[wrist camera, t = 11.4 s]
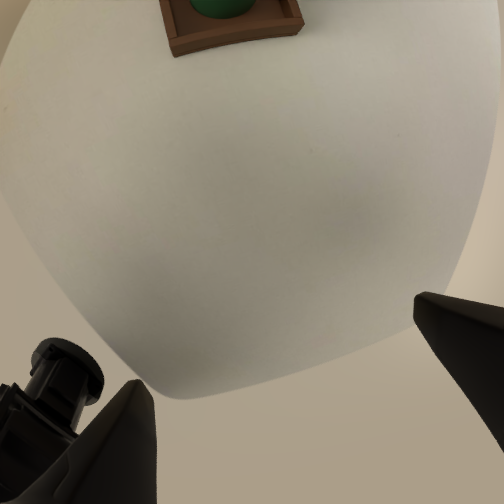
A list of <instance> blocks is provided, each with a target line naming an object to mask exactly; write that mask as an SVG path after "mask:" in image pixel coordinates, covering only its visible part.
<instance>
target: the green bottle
mask: <svg viewBox="0 0 504 504" xmlns="http://www.w3.org/2000/svg"><path fill="white" fill-rule="evenodd" d="M189 1H190V3H191V5H192V7H193V8H194V9H195V10H196V11H197V12H199V13H200V14H202V15H204V16H207V17H210V18H215V19H229V18H234V17H237V16H240V15H242V14H244V13H246V12H247V11H248V10H249V9H250V8H251V7H252V6H253V5H254V3H255V0H189Z"/></svg>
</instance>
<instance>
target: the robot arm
mask: <svg viewBox="0 0 504 504" xmlns="http://www.w3.org/2000/svg"><path fill="white" fill-rule="evenodd" d="M413 319H414V322H415V324H416V325H417V327H418V328H419V330H420V331H421V333H422V334H423V336H424V338H425V339H426V341H427V342H428V344H429V345H430V347H431V349H432V350H433V352H434V353H435V355H436V356H437V358H438V359H439V360H440V362H441V363H442V364H443V366H444V367H445V368H446V369H447V371H448V372H449V373H450V375H451V376H452V377H453V378H454V380H455V381H456V383H457V384H458V385H459V387H460V388H461V389H462V391H463V392H464V394H465V395H466V397H467V398H468V399H469V401H470V402H471V404H472V405H473V406H474V408H475V409H476V411H477V412H478V414H479V415H480V417H481V418H482V419H483V421H484V422H485V424H486V425H487V427H488V429H489V430H490V432H491V433H492V435H493V436H494V438H495V439H496V440H497V442H498V444H499V446H500V448H501V449H502V451H503V452H504V308H503V307H498V306H494V305H489V304H483V303H479V302H474V301H469V300H464V299H459V298H455V297H450V296H445V295H441V294H436V293H431V292H422V293H420V294H418V295H416V296H415V298H414V310H413ZM51 348H52V349H51ZM30 375H31V376H32V378H31V380H30V381H29V383H28V385H27V387H26V388H25V390H24V391H22V390H21V389H20V388H19V386H18V385H17V384H16V383H15V382H14V383H13V384H12V386H11V387H10V386H9V385H5V384H1V386H0V504H157V492H156V491H157V484H156V469H157V465H156V464H157V438H156V425H155V411H154V400H153V397H152V395H151V394H150V392H149V391H148V390H147V388H146V386H145V385H144V383H143V382H142V381H141V380H140V379H136V380H130V381H128V382H127V383H126V384H125V385H124V386H123V387H122V388H121V389H120V390H119V391H118V393H117V394H116V395H115V396H114V397H113V398H112V399H111V400H110V402H109V403H108V404H107V405H106V406H105V407H104V408H103V409H102V410H101V412H100V413H99V414H98V415H97V416H96V417H95V418H94V419H93V420H92V421H91V423H90V424H89V425H88V426H87V427H86V428H85V429H84V430H83V432H82V433H81V434H80V435H78V434H77V433H75V431H76V428H77V425H78V422H79V419H80V416H81V413H82V411H83V408H84V405H85V404H86V403H87V402H88V401H89V400H90V399H92V398H93V397H94V396H95V395H96V394H97V393H98V392H99V391H100V390H102V388H103V383H102V382H101V381H100V380H98V379H97V378H95V377H94V376H93V375H91V374H90V373H89V372H87V371H86V370H85V369H83V368H82V367H81V366H80V365H78V364H77V363H76V362H75V361H73V360H72V359H71V358H70V357H68V356H67V355H66V354H65V353H64V352H62V351H61V350H60V349H59V348H58V347H57V346H55V345H54V344H53V343H49V344H48V346H47V347H46V348H45V350H44V351H43V353H42V354H41V356H40V357H39V359H38V360H37V362H36V363H35V365H34V366H33V368H32V370H31V371H30Z"/></svg>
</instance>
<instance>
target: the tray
mask: <svg viewBox="0 0 504 504" xmlns="http://www.w3.org/2000/svg"><path fill="white" fill-rule="evenodd" d="M159 2H160V7H161V11H162V16H163V20H164V24H165V29H166V33H167V37H168V41H169V46H170V49H171V51H172V54H173V57H178V56H181V55H185V54H189V53H192V52H196V51H200V50H205V49H209V48H213V47H218V46H223V45H228V44H233V43H238V42H244V41H250V40H257V39H264V38H272V37H281V36H291V35H297V34H298V32H299V31H300V30H301V29H302V27H303V26H304V25H305V23H304V20H303V18H302V14H301V12H300V9H299V6H298V4H297V1H296V0H255V3H254V5H253V6H252V7H251V8H250V9H249V10H248V11H247V12H246V13H244V14H242V15H240V16H237V17H234V18H229V19H215V18H210V17H207V16H204V15H202V14H200V13H199V12H197V11H196V10H195V9H194V8H193V7H192V5H191V3H190V1H189V0H159Z"/></svg>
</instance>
